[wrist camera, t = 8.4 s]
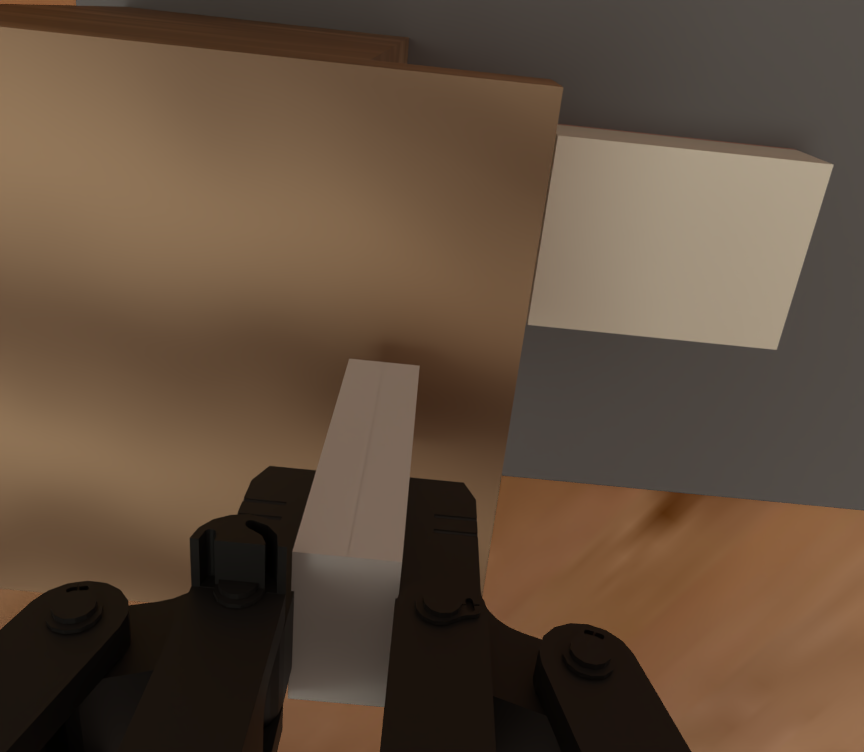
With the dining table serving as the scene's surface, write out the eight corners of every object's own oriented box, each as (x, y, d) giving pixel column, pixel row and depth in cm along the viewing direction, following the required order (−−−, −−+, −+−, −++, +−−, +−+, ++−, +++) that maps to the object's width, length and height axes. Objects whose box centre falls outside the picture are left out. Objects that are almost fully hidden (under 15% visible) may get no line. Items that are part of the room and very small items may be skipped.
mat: (922, 511, 43) (926, 516, 43) (115, 434, 42) (112, 437, 42) (1176, -73, 31) (1184, -74, 31) (63, -199, 30) (59, -202, 30)
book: (527, 324, 34) (520, 295, 38) (776, 349, 34) (745, 317, 38) (558, 135, 31) (546, 122, 34) (833, 164, 31) (793, 148, 35)
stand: (464, 347, 39) (476, 632, 21) (145, 315, 39) (-119, 577, 21) (502, 47, 34) (563, 87, 15) (127, 6, 33) (-262, -2, 15)
